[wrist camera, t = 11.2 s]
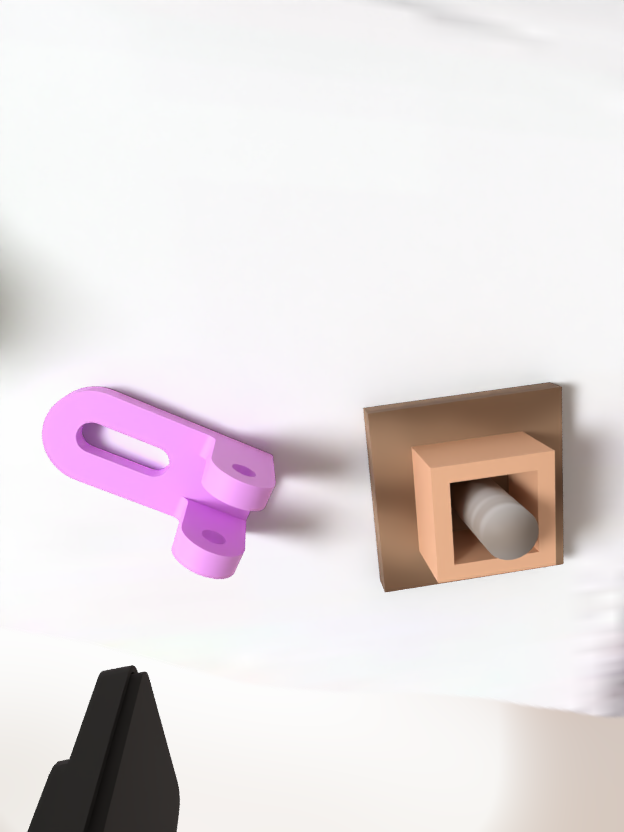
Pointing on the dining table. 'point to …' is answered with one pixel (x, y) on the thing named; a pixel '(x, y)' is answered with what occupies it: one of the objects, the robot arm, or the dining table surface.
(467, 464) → the collar
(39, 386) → the dining table surface
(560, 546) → the post stand
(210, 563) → the bracket
